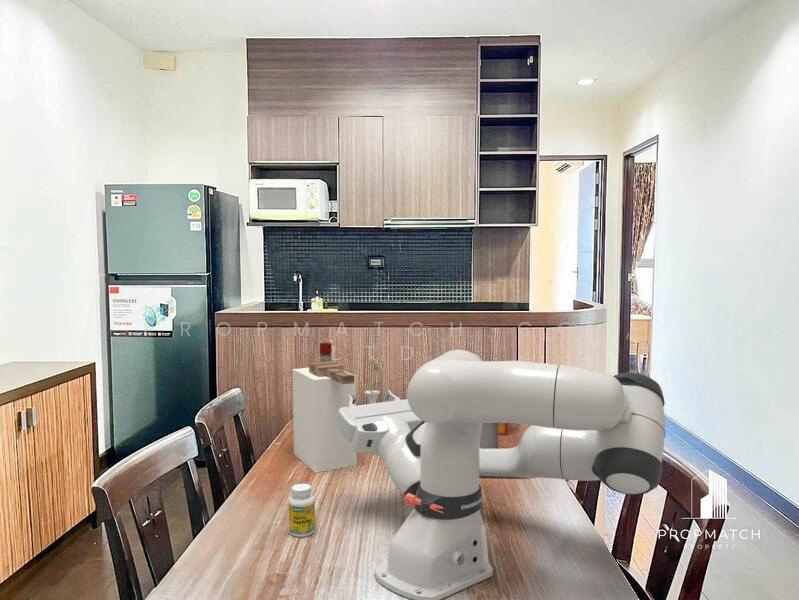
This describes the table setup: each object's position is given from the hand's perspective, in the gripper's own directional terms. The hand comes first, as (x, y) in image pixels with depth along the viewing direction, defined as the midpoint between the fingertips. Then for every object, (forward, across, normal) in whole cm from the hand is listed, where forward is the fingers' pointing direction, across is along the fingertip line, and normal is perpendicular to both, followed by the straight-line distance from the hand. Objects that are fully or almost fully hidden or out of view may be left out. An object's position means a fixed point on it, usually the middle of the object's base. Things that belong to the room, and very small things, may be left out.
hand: (368, 394), depth 143 cm
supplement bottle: (-22, +21, +16) cm, 34 cm away
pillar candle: (-3, -41, +27) cm, 49 cm away
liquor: (+31, -9, +47) cm, 57 cm away
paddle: (+19, 0, +10) cm, 21 cm away
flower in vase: (+28, -23, +44) cm, 57 cm away
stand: (+13, 0, +36) cm, 38 cm away
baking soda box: (+12, -59, +36) cm, 70 cm away
